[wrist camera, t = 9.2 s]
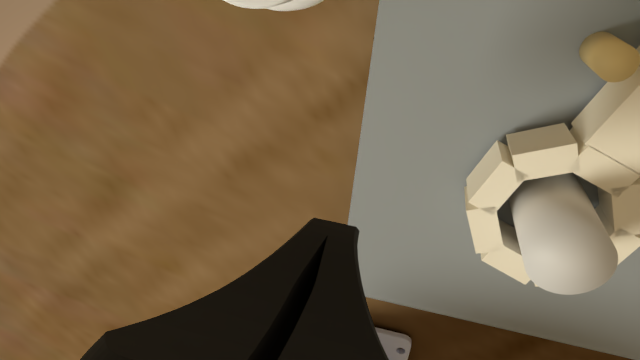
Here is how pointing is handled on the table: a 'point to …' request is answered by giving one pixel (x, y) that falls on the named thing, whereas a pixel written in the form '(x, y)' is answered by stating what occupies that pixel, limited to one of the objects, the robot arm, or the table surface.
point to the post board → (471, 146)
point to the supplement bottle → (275, 4)
